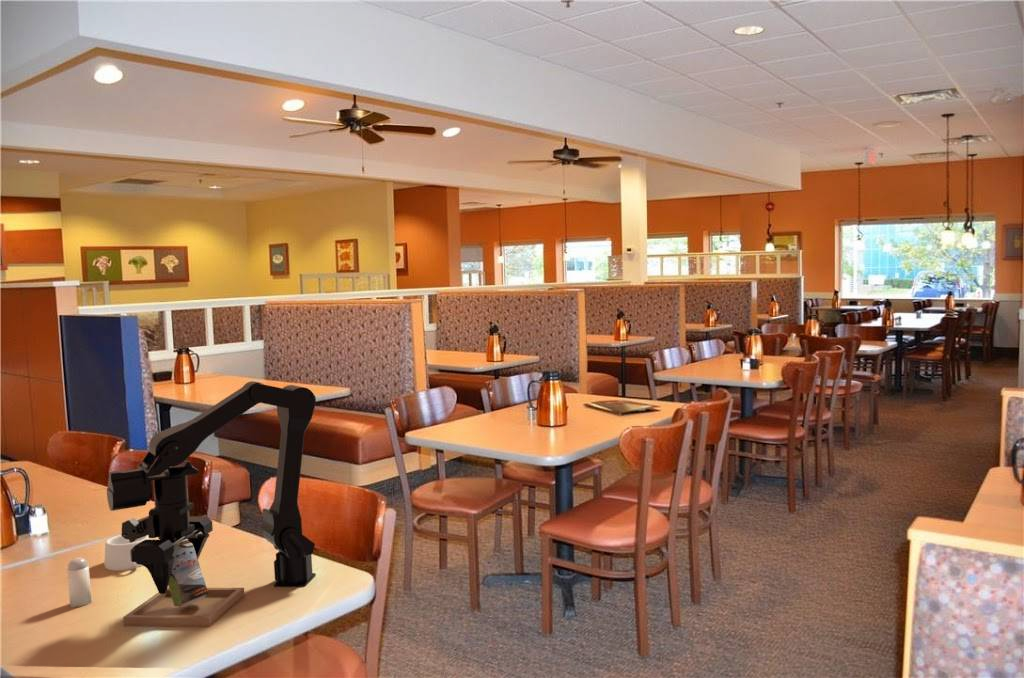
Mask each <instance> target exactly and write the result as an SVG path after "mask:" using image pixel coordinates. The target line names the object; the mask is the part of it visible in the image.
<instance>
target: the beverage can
mask: <svg viewBox="0 0 1024 678" xmlns="http://www.w3.org/2000/svg"><path fill="white" fill-rule="evenodd" d="M172 557H175V559H174V563H173V567H172V571H171V575H170V580H169V584H168V587H169V590H170V593H171V596H172V599H173V603H174V606H179V608H182V607H185V606H187V605H190V604H193V603H195V602H198V601H200V600H202V599H205V596H206V595H207V594H208V590H207V588H208V587H207V584H206V581H205V578H204V575H203V572H202V569H201V566H200V565H201V564H200V563H199V562H200V561H199V558H197V555H196V552H195V549H194V546H193V544H192V543H191V542H189V541H188V539H185V540H182V541H179V542H177V543H175V544H174V552H173V555H172Z"/></svg>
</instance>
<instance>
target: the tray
mask: <svg viewBox="0 0 1024 678" xmlns="http://www.w3.org/2000/svg"><path fill="white" fill-rule="evenodd" d="M207 590H208V594H207V595H206V596H205V599H202V600H200V601H198V602H195V603H193V604H190V605H187V606H185V607H182V608H179V606H174V603H173V599H172V596H171V593H170V590H169V586H168V588H167V591H166V593H165V594H160V593H159V592H158V591H157V593H155V594H154V595H152V596H151V597H150V598H148V599H146V600H145V601H144V602H142V603H141V604H139V605H138V606H137V607H135V608H134V609H132V610H131V611H129V612H128V613H127V614H125V615H124V616H123V617H122V620H123V626H124V627H187V628H188V627H192V628H193V627H197V628H198V627H199V628H201V627H202V628H203V627H204V628H210V627H212V626H213V624H215V622H216V621H218V620H219V619H220V618H221V617H223V615H225V613H227V612H228V611H229V610H230V609H232V608H233V607H234V606H235V605H236V604H237V603H238V602H239V601H241V599H243V598H244V597H245V595H246V594H245V587H207Z"/></svg>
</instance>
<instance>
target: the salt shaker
mask: <svg viewBox="0 0 1024 678" xmlns="http://www.w3.org/2000/svg"><path fill="white" fill-rule="evenodd" d="M90 579H91V577H90V565H89V563H88V561H87V560H86V559H85V558H84V557H78V556H77V557H75V558H72V559H71V560H70V561H69V563H68V564H67V581H68V597H69V606H70V607H71V608H79V607H84V606H88V605H89V604H91V603H92V592H91V581H90Z"/></svg>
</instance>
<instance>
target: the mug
mask: <svg viewBox="0 0 1024 678" xmlns="http://www.w3.org/2000/svg"><path fill="white" fill-rule="evenodd" d="M144 540H151V538H148V535H147V536H144V537H142V538H139V539H136V540H135V541H134V542H131V543H130V541H129V539H125V538H124V537H122V536H121V534H119V535H116V536H112V537H111V538H109V539H107V540H106V541H105V543H104V545H105V546H104V560H103V562H104V568H105V569H106V570H109V571H114V572H115V571H118V572H119V571H120V572H121V571H129V570H133V569H137V568H142V567H144V566H143V565H139V564H137V563H136V562H131V556H130V550H131V549H132V548H133V547H134V546H135V545H137V544H138V543H140V542H142V541H144Z"/></svg>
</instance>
